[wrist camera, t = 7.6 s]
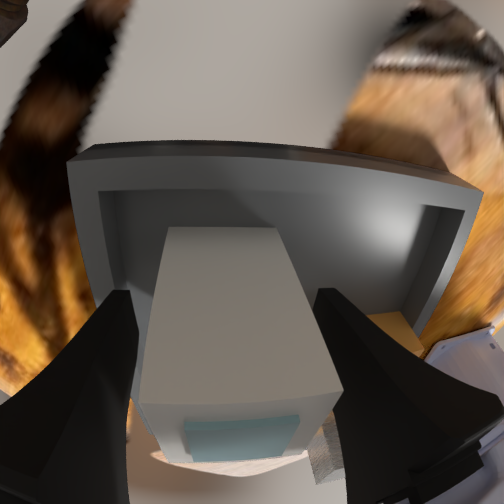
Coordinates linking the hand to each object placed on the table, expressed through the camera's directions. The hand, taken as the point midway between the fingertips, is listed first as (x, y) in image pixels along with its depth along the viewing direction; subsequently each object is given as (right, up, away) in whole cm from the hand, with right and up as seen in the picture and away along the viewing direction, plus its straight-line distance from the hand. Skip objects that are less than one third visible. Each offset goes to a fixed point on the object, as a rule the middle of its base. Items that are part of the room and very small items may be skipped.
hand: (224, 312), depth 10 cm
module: (0, +1, +2) cm, 2 cm away
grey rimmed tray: (+2, -2, +5) cm, 6 cm away
